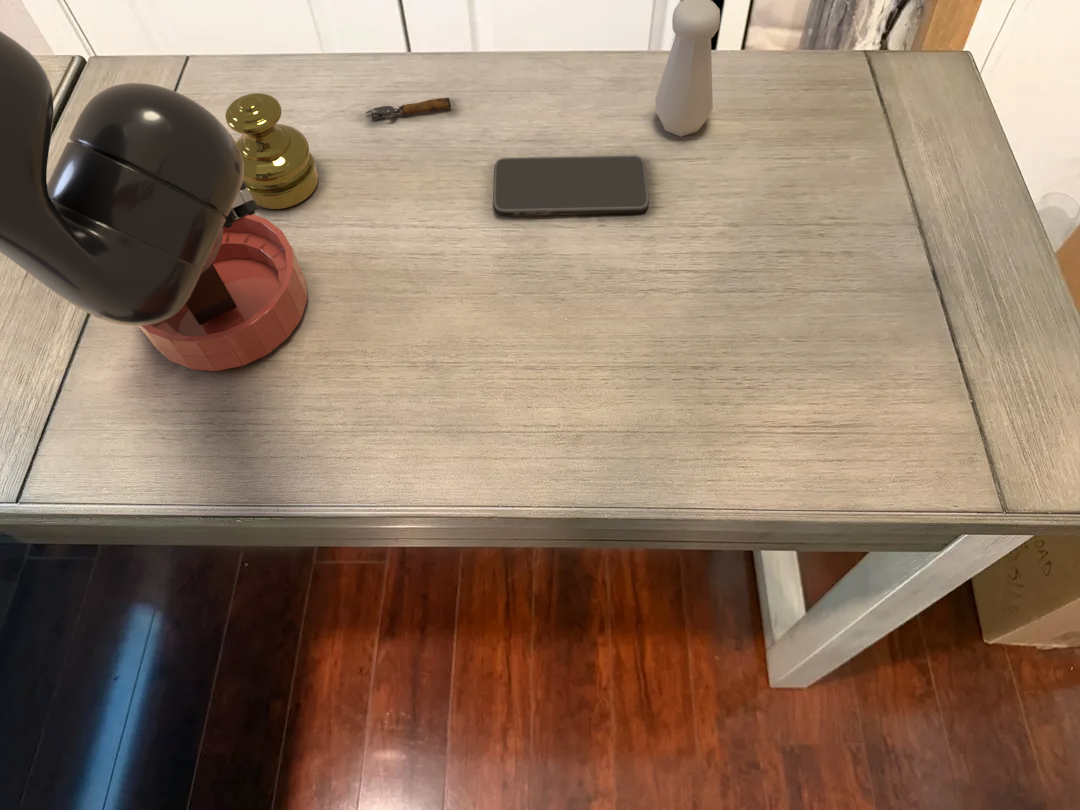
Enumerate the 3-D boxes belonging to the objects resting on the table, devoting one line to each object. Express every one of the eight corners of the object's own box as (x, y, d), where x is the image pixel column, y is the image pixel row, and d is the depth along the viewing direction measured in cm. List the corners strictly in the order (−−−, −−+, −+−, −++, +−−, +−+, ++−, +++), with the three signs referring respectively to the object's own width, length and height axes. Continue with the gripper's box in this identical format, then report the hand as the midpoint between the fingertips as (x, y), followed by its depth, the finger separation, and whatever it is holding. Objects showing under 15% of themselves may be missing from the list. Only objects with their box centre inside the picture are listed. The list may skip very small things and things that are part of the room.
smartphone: (650, 208, 77) (492, 211, 77) (649, 215, 78) (493, 218, 78) (644, 153, 81) (493, 156, 81) (643, 160, 82) (494, 163, 82)
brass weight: (306, 215, 79) (274, 134, 71) (234, 207, 80) (194, 126, 71) (329, 161, 83) (301, 78, 74) (259, 154, 84) (224, 71, 75)
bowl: (252, 396, 69) (231, 363, 65) (118, 343, 72) (89, 309, 68) (337, 274, 75) (323, 237, 71) (211, 230, 79) (190, 193, 74)
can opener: (451, 103, 86) (449, 94, 85) (451, 118, 85) (450, 109, 84) (366, 110, 86) (363, 101, 85) (365, 125, 85) (363, 116, 84)
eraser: (237, 307, 71) (192, 228, 63) (199, 325, 70) (148, 247, 62) (216, 270, 73) (169, 189, 65) (179, 288, 73) (127, 207, 64)
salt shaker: (719, 133, 83) (742, 16, 72) (668, 148, 82) (684, 33, 71) (692, 97, 86) (711, -20, 75) (643, 112, 85) (655, -4, 74)
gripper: (232, 125, 53) (227, 159, 68) (13, 218, 49) (61, 231, 65) (290, 233, 55) (272, 242, 71) (85, 329, 51) (114, 316, 67)
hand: (171, 237), depth 68 cm, fingers closed on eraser, 3 cm apart
